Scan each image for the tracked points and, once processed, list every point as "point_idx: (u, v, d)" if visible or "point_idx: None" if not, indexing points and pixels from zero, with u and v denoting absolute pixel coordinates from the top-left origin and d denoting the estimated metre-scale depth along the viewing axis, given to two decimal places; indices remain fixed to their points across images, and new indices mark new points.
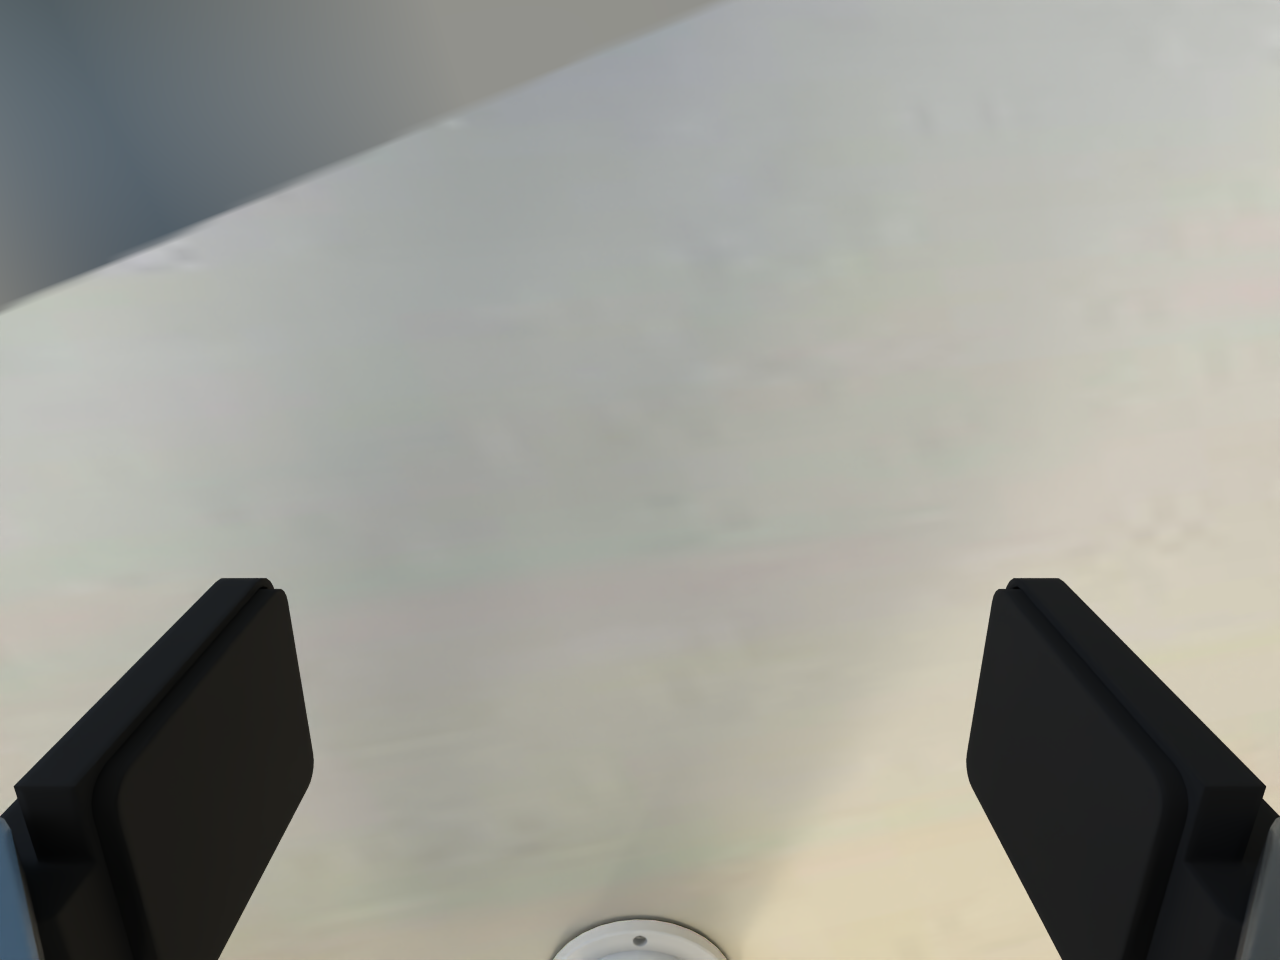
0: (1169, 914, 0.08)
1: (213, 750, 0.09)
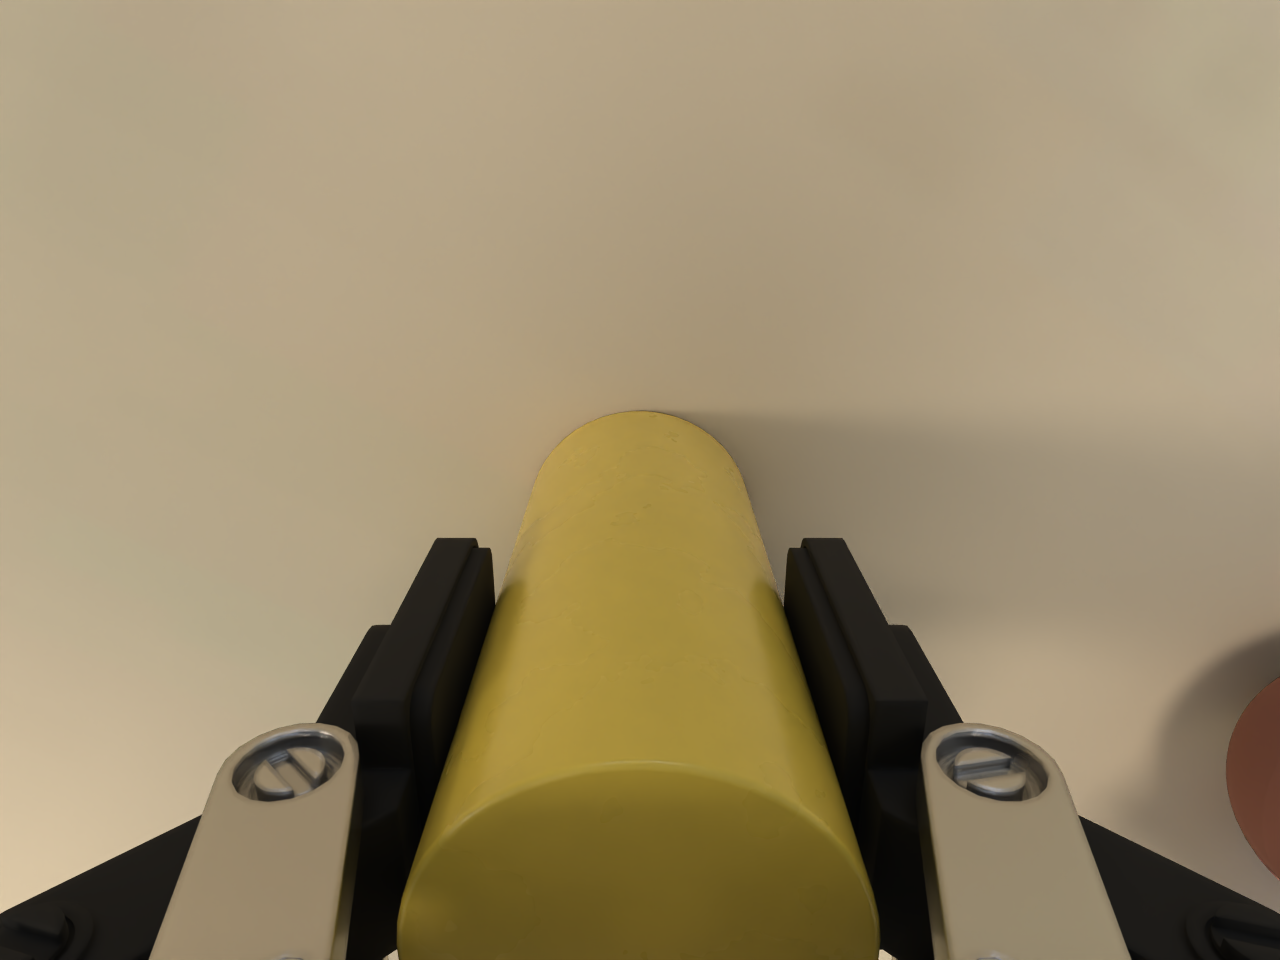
0: (862, 817, 0.09)
1: (464, 684, 0.10)
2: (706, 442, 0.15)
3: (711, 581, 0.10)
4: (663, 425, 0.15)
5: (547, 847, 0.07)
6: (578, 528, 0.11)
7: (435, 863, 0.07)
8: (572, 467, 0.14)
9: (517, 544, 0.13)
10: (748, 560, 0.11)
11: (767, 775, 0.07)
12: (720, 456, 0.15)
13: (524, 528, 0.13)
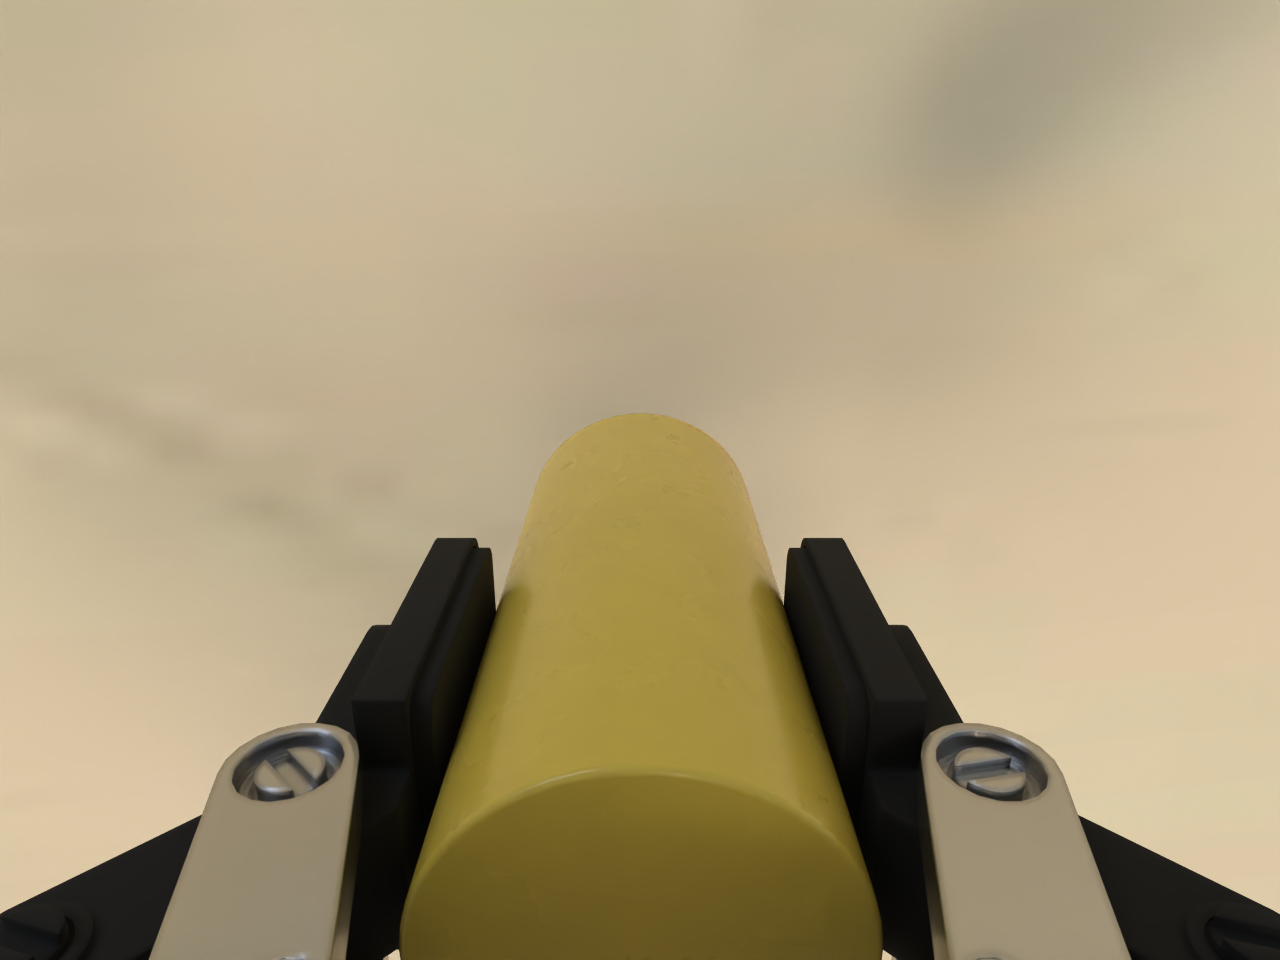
0: (862, 816, 0.09)
1: (464, 685, 0.10)
2: (707, 444, 0.15)
3: (712, 585, 0.10)
4: (664, 428, 0.15)
5: (550, 851, 0.07)
6: (579, 532, 0.11)
7: (438, 869, 0.07)
8: (573, 470, 0.14)
9: (518, 547, 0.13)
10: (750, 563, 0.11)
11: (769, 781, 0.07)
12: (721, 458, 0.15)
13: (525, 531, 0.13)
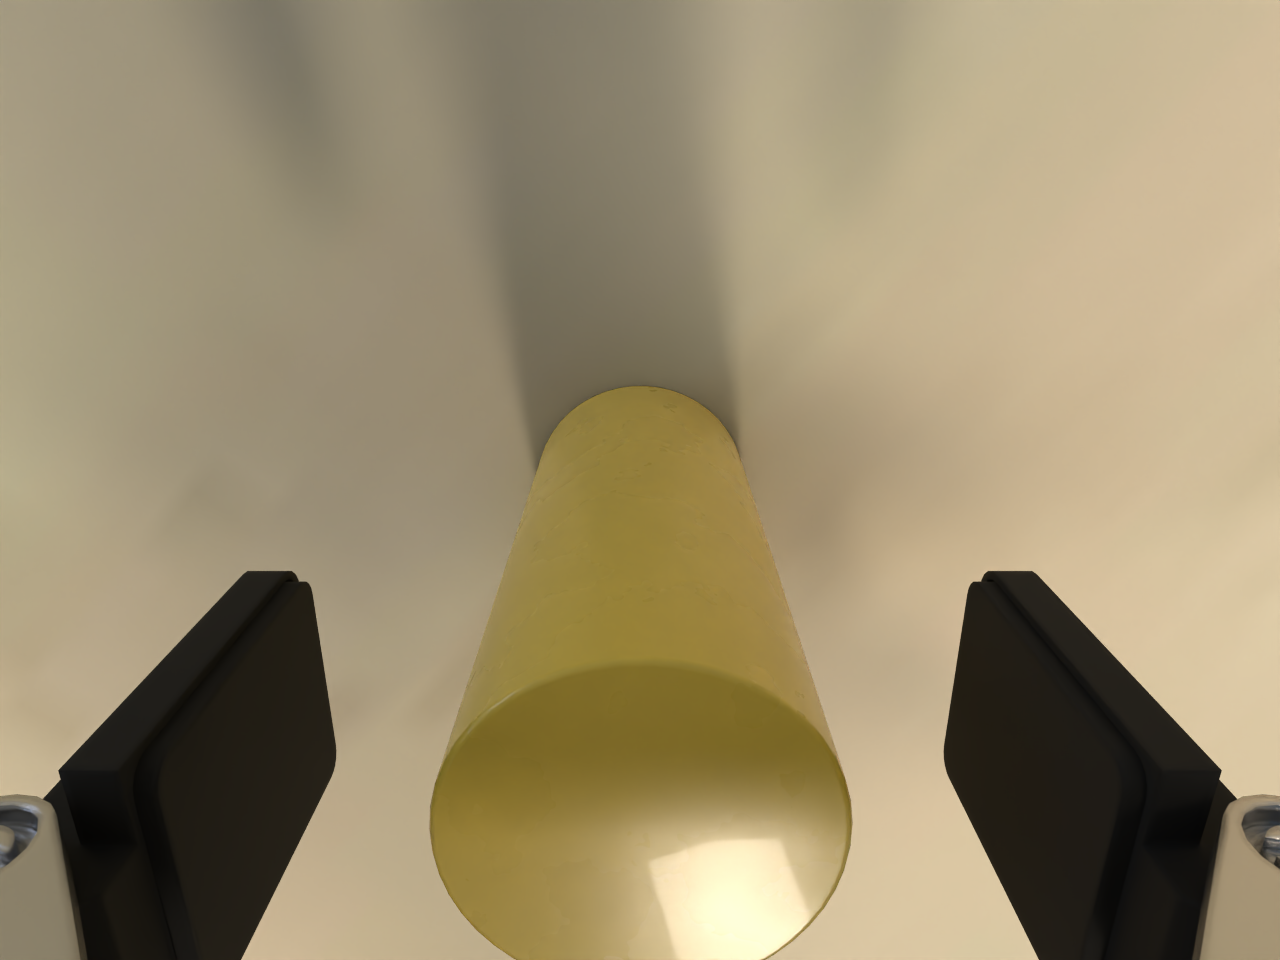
0: (1128, 896, 0.08)
1: (244, 738, 0.09)
2: (703, 414, 0.16)
3: (705, 525, 0.11)
4: (662, 398, 0.16)
5: (563, 736, 0.08)
6: (584, 484, 0.12)
7: (464, 751, 0.08)
8: (578, 435, 0.15)
9: (528, 504, 0.14)
10: (740, 513, 0.12)
11: (753, 672, 0.08)
12: (716, 427, 0.16)
13: (534, 490, 0.14)
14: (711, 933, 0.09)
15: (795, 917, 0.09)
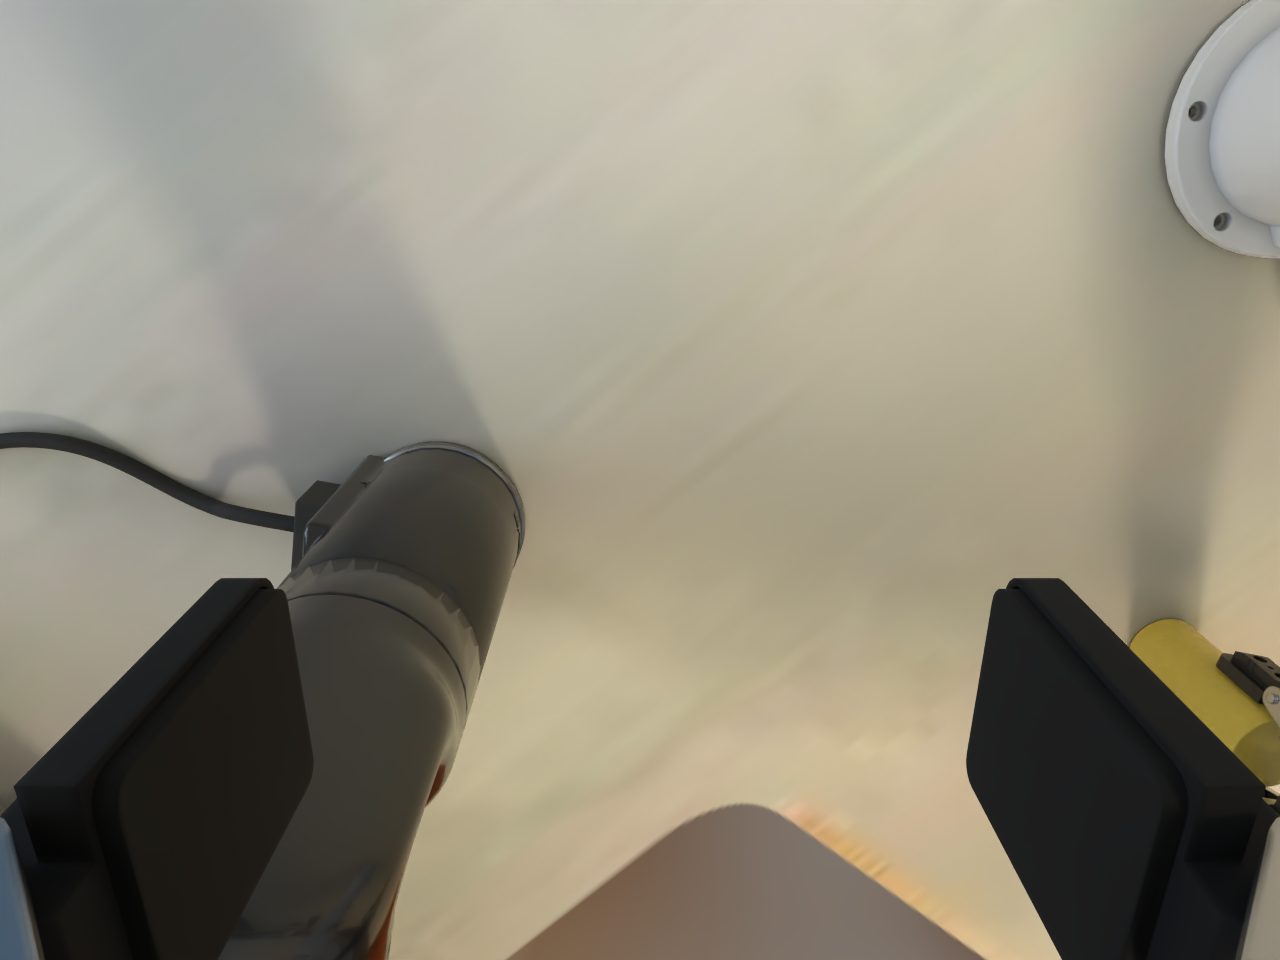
0: (1167, 913, 0.08)
1: (213, 750, 0.09)
2: (1196, 630, 0.51)
3: None
4: (1185, 626, 0.50)
5: (1265, 733, 0.42)
6: (1207, 667, 0.46)
7: (1246, 736, 0.42)
8: (1173, 643, 0.49)
9: (1169, 666, 0.48)
10: None
11: None
12: None
13: (1168, 661, 0.48)
14: None
15: None
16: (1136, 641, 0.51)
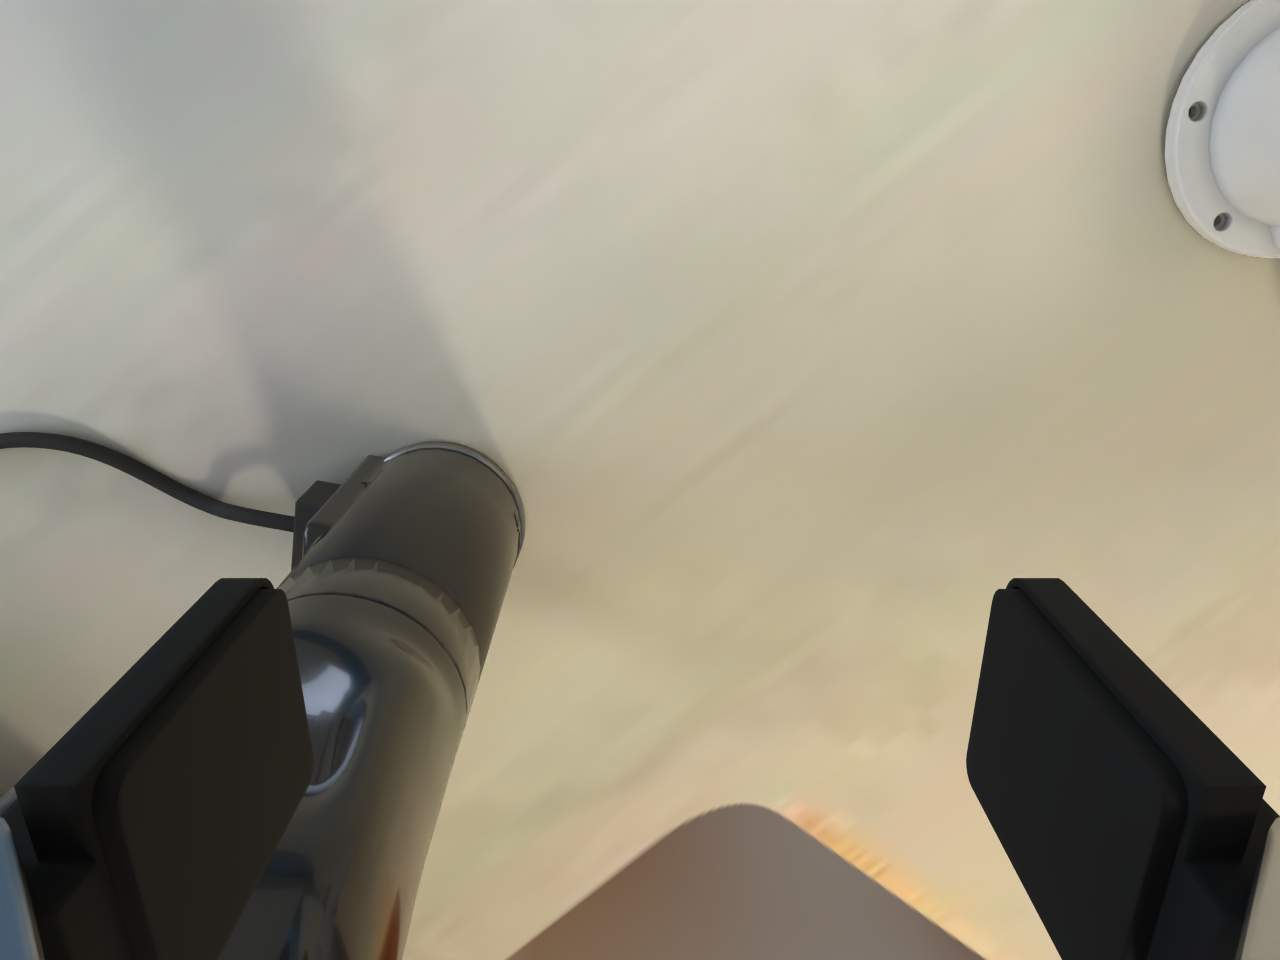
0: (1167, 913, 0.08)
1: (213, 750, 0.09)
2: None
3: None
4: None
5: None
6: None
7: None
8: None
9: None
10: None
11: None
12: None
13: None
14: None
15: None
16: None
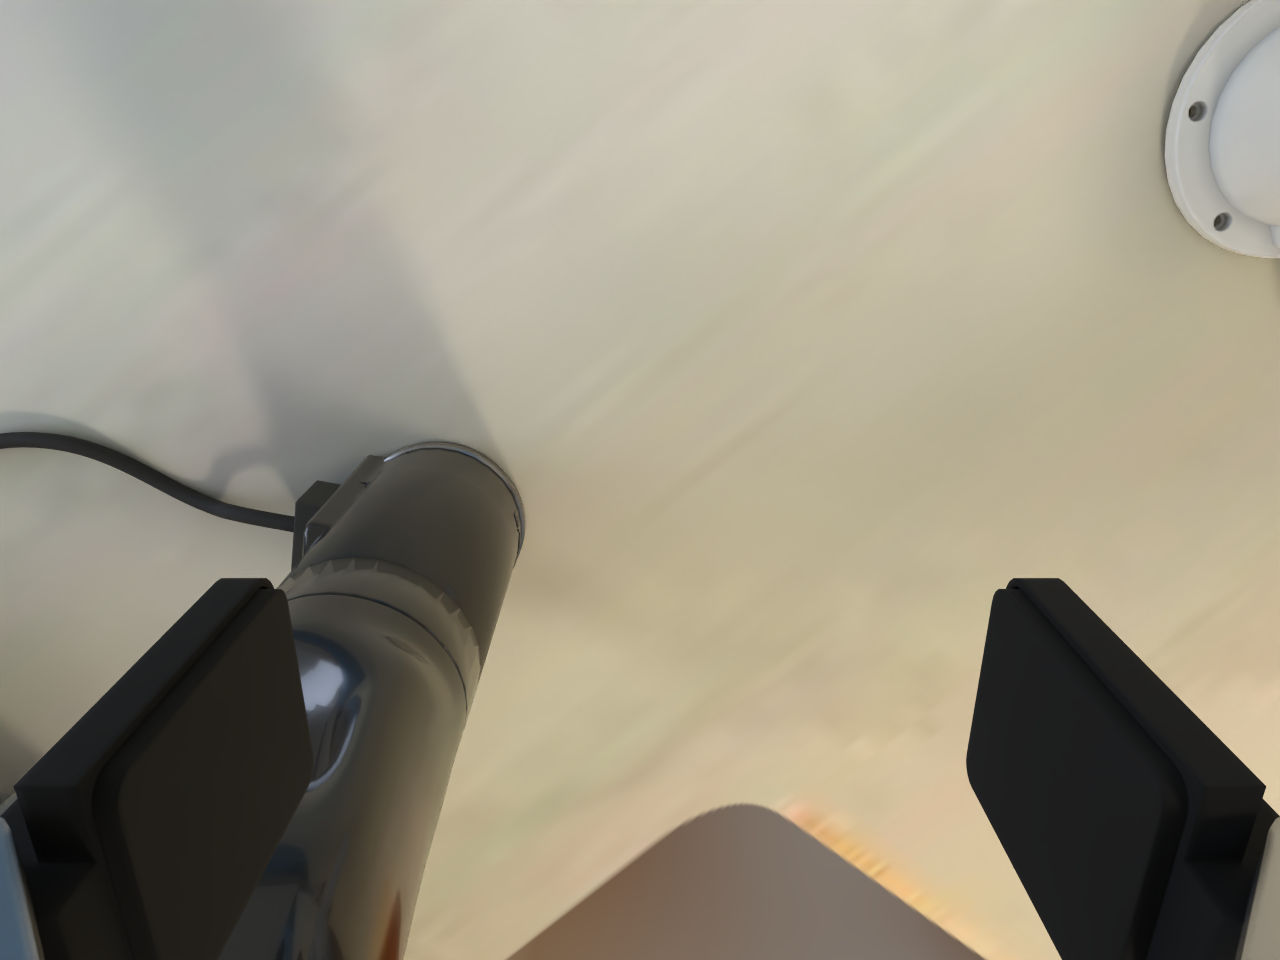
0: (1167, 913, 0.08)
1: (213, 750, 0.09)
2: None
3: None
4: None
5: None
6: None
7: None
8: None
9: None
10: None
11: None
12: None
13: None
14: None
15: None
16: None
